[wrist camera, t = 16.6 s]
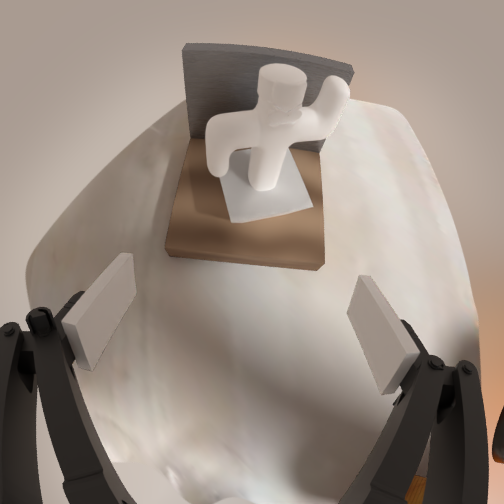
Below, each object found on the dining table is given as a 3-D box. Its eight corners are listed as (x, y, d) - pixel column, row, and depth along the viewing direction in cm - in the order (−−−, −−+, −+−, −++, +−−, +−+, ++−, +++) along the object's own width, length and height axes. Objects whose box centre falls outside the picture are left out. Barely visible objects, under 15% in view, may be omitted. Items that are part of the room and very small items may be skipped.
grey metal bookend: (319, 153, 30) (354, 72, 19) (190, 138, 29) (181, 50, 18) (318, 144, 31) (351, 64, 20) (193, 129, 30) (186, 43, 19)
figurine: (204, 179, 28) (194, 50, 14) (289, 165, 29) (328, 48, 15) (218, 242, 25) (214, 118, 11) (312, 222, 27) (381, 111, 13)
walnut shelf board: (316, 270, 28) (324, 263, 26) (169, 256, 27) (164, 247, 25) (313, 156, 33) (318, 144, 31) (194, 143, 32) (193, 129, 30)
